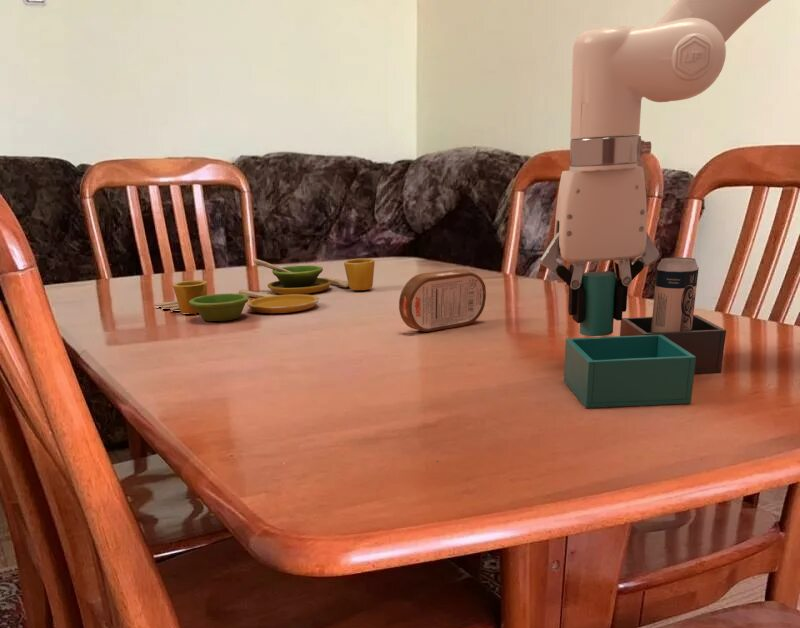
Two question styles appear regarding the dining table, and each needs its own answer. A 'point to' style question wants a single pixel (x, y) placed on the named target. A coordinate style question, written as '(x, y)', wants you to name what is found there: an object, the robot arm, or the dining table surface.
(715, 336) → the charcoal bin
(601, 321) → the teal peg
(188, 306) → the tableware set
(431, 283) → the tin
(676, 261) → the beer can
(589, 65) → the robot arm
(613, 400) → the teal bin
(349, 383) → the dining table surface
